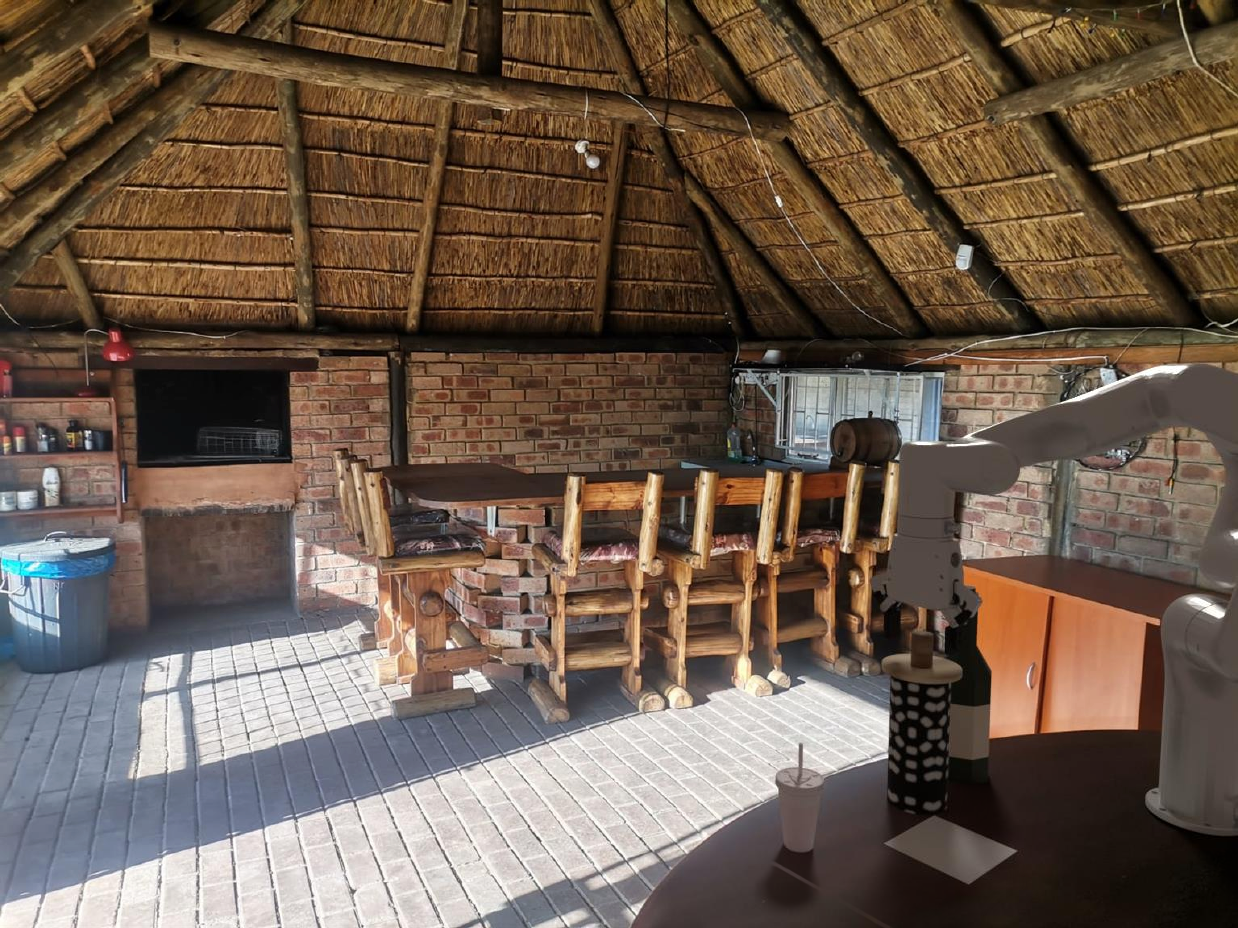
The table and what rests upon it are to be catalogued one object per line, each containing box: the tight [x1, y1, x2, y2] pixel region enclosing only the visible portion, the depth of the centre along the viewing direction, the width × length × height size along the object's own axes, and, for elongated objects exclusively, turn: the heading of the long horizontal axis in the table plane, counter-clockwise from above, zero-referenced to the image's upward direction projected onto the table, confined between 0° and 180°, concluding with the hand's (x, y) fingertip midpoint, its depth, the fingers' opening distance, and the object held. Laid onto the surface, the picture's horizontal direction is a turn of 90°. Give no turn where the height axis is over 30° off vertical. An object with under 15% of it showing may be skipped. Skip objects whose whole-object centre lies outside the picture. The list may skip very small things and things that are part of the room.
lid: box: [881, 630, 962, 684], centre depth 124 cm, size 11×11×6 cm
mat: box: [883, 815, 1018, 885], centre depth 114 cm, size 12×12×1 cm
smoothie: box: [774, 742, 825, 853], centre depth 114 cm, size 6×6×14 cm
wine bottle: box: [943, 584, 993, 785], centre depth 135 cm, size 8×8×30 cm
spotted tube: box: [886, 675, 951, 816], centre depth 126 cm, size 8×8×20 cm
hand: (921, 644), depth 124 cm, fingers open, 9 cm apart
